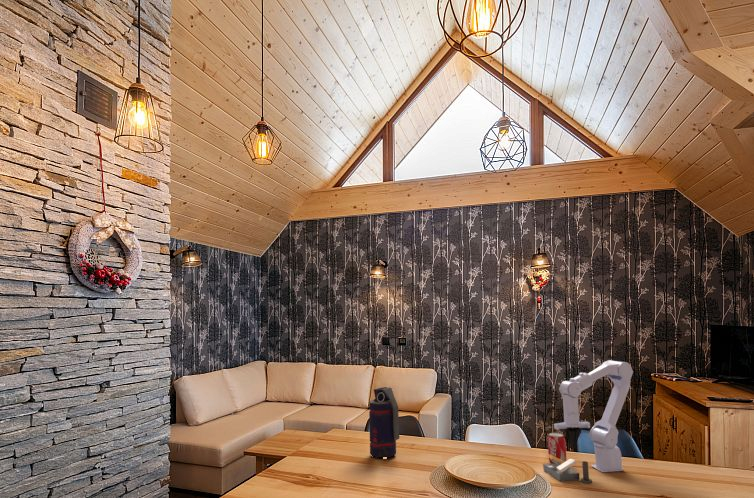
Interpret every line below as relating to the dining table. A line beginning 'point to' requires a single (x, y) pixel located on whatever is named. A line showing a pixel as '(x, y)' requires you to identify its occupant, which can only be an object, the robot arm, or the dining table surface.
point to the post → (585, 473)
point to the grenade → (383, 423)
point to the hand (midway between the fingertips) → (573, 447)
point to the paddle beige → (566, 465)
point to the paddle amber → (555, 459)
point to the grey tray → (561, 476)
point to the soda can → (557, 446)
